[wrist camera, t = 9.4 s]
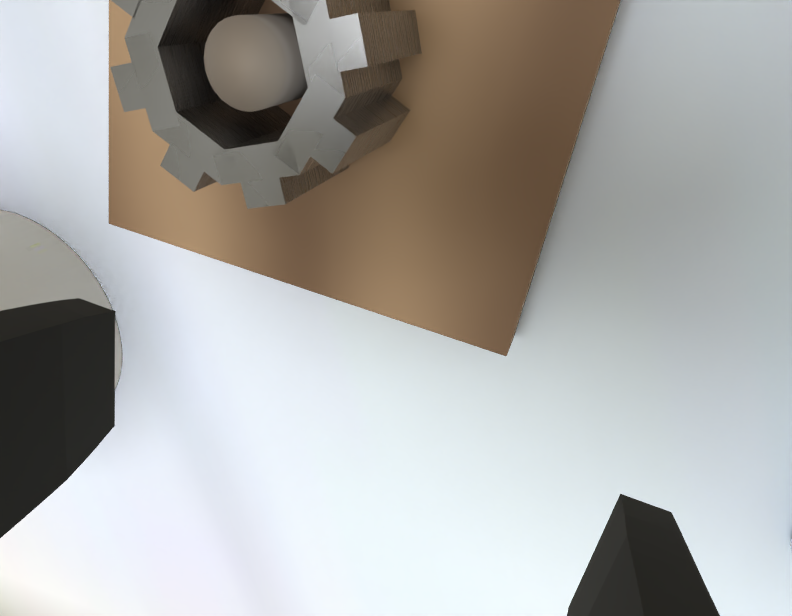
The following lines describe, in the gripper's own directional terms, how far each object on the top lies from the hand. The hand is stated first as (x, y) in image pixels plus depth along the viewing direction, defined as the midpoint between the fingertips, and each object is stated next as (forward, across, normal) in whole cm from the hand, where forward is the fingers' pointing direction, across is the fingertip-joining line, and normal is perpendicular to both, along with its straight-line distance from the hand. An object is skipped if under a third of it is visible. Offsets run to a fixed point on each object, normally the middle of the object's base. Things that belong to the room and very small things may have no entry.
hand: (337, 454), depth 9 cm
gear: (+9, +5, -4) cm, 11 cm away
